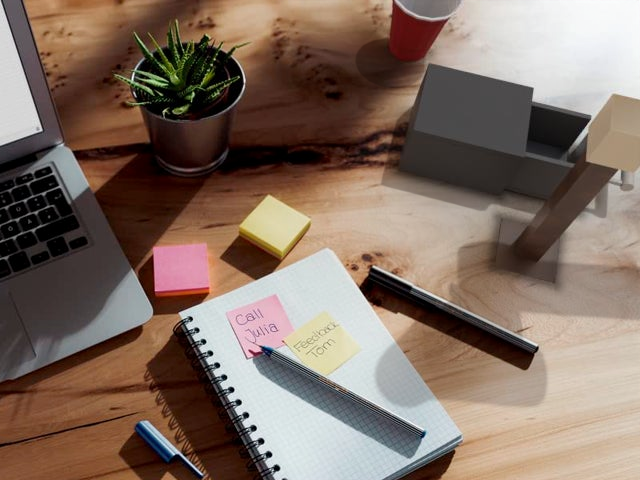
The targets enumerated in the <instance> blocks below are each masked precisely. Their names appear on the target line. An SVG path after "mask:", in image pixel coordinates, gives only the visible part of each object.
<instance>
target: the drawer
mask: <svg viewBox="0 0 640 480" xmlns="http://www.w3.org/2000/svg"><path fill="white" fill-rule="evenodd" d="M591 121H592V115H591V114H588V113H583V112H579V111H576V110H571V109H567V108H562V107H559V106H554V105H551V104H547V103H542V102H538V101H533V100H532V106H531V114H530V121H529V129H528V136H527V144H526V152H525V158H524V159H523V161H522V162H521V164H520V165H519V167H518V168H517V170H516V172H515V173H514V175H513V176H512V178H511V179H510V181H509V182H508V184H507V185H506V187H505V188H504V190H507V191H511V192H515V193H518V194H522V195H527V196H530V197H534V198H537V199H542V200H545V201H547V200H548V199H549V197H550V196H551V195H552V193H553V192H554V191H555V190H556V188H557V187H558V186H559V184H560V183H561V182H562V181H563V179H564V178H565V177H566V175H567V174H568V173H569V172H570V170H571V169H572V168H573V166H574V165H575V164H576V162H577V161H578V160H579V159H580V157H581V156H582V155H583V153H584V152H585V151H586V150H587V141H588V132H587V133H586V134H585V136H584V137H583V138H582V140H581V141H580V142H579V144H578V145H577V146H576V147H575V150H574V158H573V160H574V161H573V162H569V160H568V159H569V150H570V149H571V148H572V146H573V145H574V144H575V142H576V141H577V140H578V139H579V137H580V135H581V134H582V133H583V131H584V130H585V129H586V128H587V127H588V125H589V123H590V122H591ZM635 172H636V171H635ZM635 172H634V173H631V172H627V171H623V170H620V179H618V178H614V177H612V178H611V179H610V180H609V182H608V183H607V184H610V185H613V186H618V187H619V189H620V190H621V191H622V192H631V191H633V190H634V189H635Z"/></svg>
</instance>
